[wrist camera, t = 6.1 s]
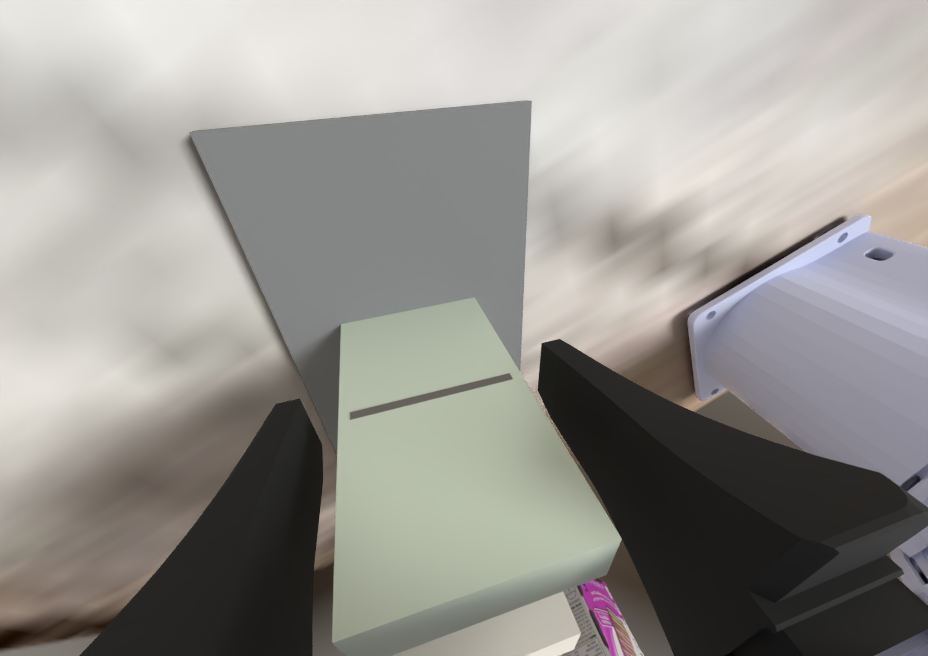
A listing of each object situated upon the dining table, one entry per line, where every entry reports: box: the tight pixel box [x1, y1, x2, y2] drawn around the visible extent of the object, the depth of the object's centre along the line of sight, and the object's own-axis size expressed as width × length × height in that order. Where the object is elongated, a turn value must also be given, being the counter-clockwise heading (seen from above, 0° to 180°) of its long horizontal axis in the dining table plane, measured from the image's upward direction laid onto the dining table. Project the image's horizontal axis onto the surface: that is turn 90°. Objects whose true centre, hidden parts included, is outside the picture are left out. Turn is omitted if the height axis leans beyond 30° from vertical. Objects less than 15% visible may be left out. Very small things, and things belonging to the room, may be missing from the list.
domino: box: [393, 591, 581, 656], centre depth 13 cm, size 2×5×9 cm, turn 94°
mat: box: [189, 101, 532, 454], centre depth 20 cm, size 36×9×1 cm, turn 4°
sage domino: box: [332, 297, 621, 656], centre depth 10 cm, size 2×5×9 cm, turn 94°
